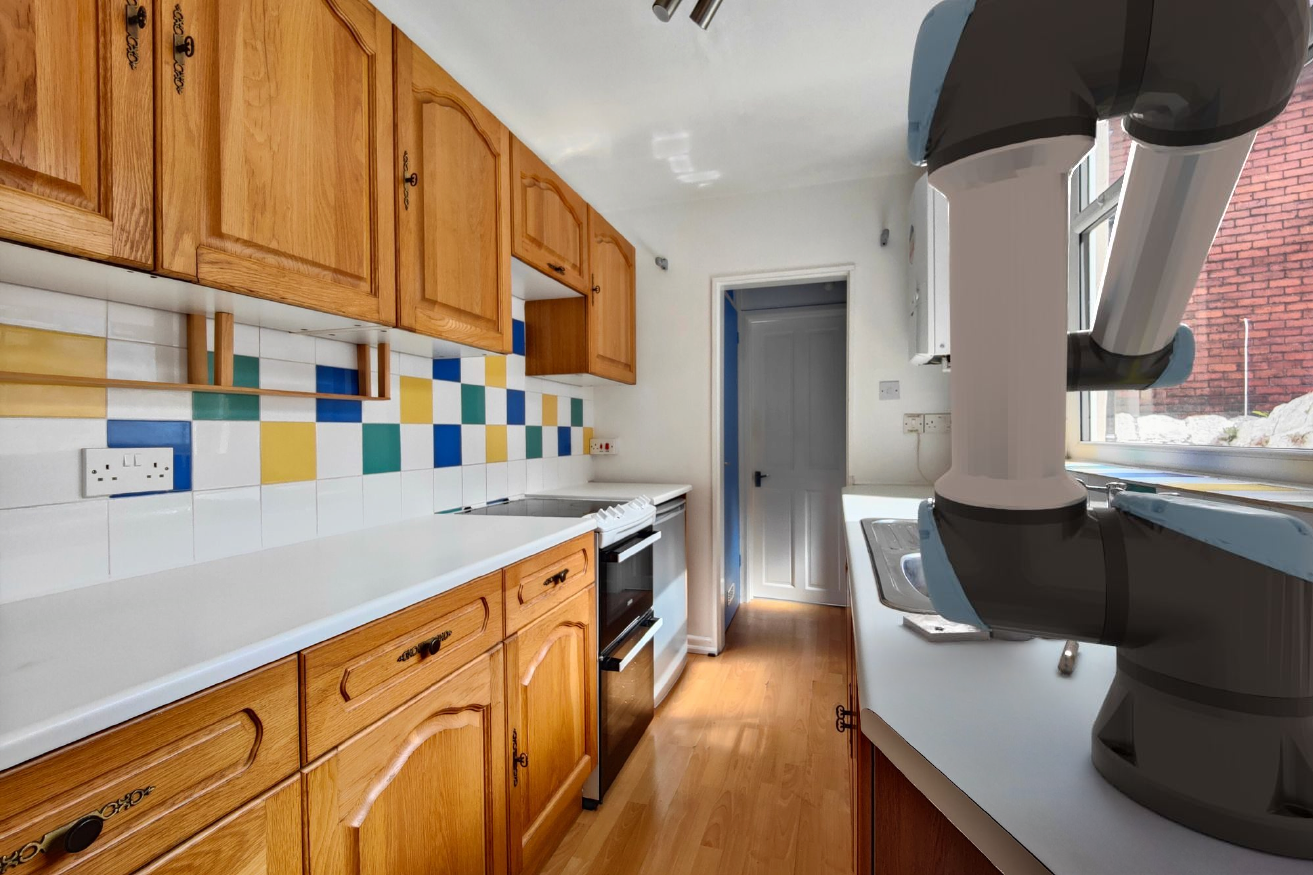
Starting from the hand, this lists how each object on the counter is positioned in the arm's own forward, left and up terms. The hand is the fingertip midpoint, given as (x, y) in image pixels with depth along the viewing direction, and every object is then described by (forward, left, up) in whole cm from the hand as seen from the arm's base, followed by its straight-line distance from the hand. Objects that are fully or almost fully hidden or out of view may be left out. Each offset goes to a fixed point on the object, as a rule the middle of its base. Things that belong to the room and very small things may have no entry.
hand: (998, 596), depth 81 cm
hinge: (0, 0, -5) cm, 5 cm away
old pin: (-6, -10, -5) cm, 13 cm away
